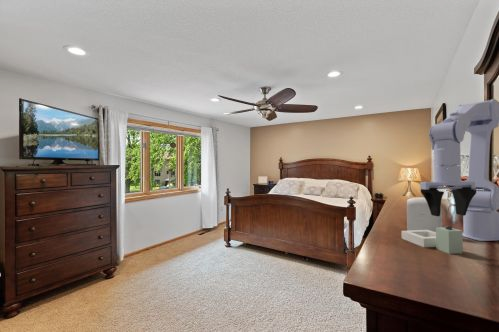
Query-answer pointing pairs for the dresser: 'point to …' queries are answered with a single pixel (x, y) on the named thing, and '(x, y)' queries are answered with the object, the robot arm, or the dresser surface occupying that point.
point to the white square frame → (420, 237)
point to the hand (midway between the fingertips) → (448, 215)
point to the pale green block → (449, 240)
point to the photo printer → (421, 215)
